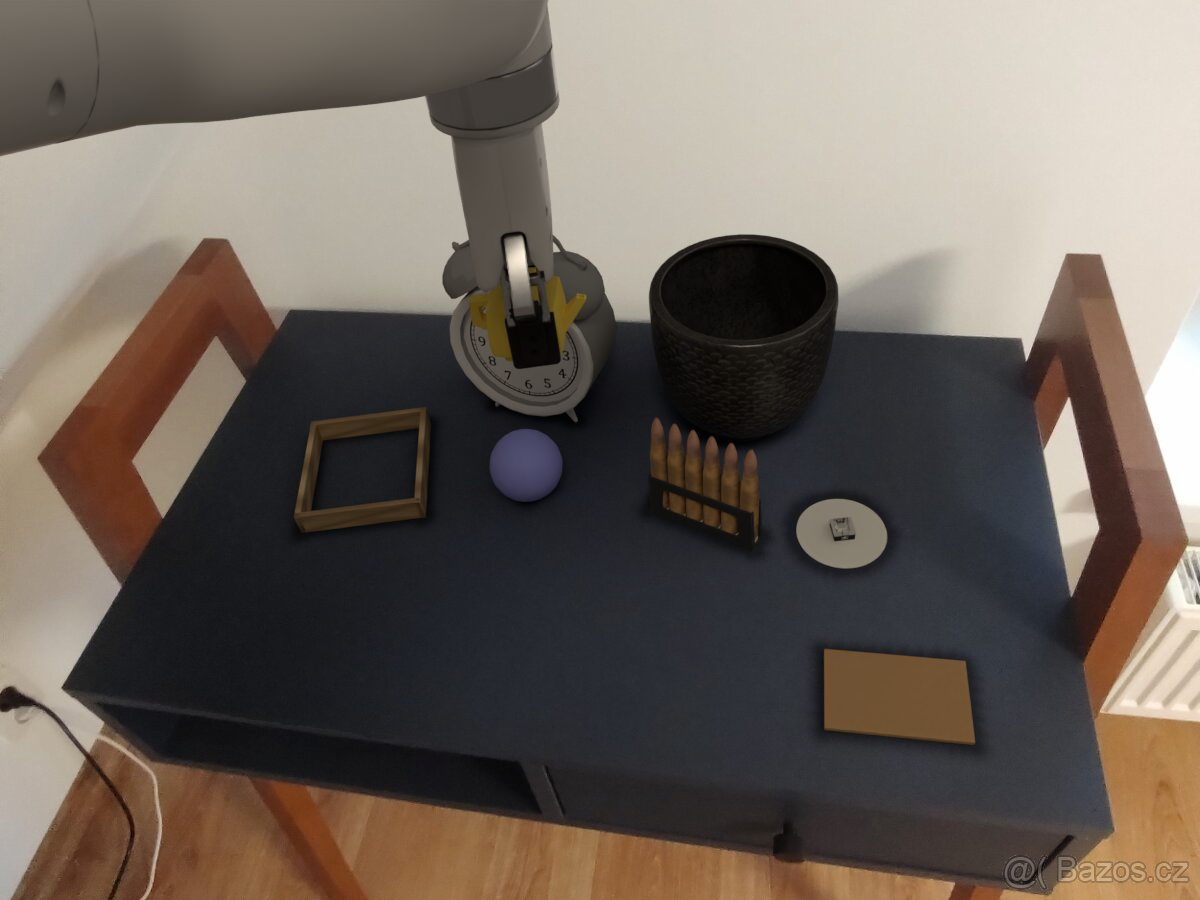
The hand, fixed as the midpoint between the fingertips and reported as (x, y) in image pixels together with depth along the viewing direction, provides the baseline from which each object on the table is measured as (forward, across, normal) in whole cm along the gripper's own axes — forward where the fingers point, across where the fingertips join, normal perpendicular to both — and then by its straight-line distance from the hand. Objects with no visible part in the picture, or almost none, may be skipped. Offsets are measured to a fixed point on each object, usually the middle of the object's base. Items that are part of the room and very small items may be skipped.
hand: (534, 330), depth 66 cm
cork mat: (+27, +17, +24) cm, 40 cm away
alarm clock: (+27, -23, -1) cm, 36 cm away
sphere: (+27, -10, -4) cm, 29 cm away
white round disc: (+27, 0, +24) cm, 37 cm away
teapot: (+1, 0, 0) cm, 1 cm away
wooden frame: (+27, -15, -20) cm, 37 cm away
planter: (+27, -17, +18) cm, 37 cm away
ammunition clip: (+27, -3, +12) cm, 30 cm away
